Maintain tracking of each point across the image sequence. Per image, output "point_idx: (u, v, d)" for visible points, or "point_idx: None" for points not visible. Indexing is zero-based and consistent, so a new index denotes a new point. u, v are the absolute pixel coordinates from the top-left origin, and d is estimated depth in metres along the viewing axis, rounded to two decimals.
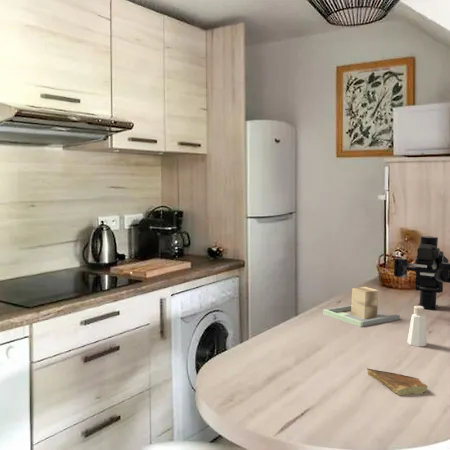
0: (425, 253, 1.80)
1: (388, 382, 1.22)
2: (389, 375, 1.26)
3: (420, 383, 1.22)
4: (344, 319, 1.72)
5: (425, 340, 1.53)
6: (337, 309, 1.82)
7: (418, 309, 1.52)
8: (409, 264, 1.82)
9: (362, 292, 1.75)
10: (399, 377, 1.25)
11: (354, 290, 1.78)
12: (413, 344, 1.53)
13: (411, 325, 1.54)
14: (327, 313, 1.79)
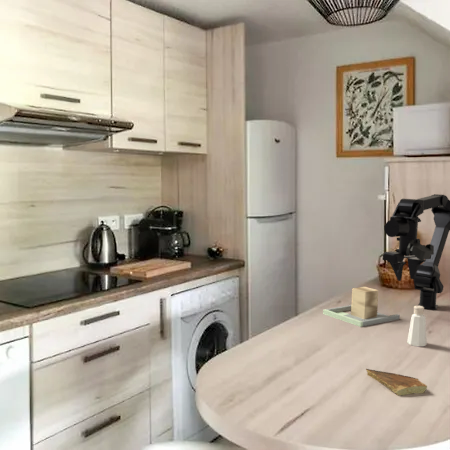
0: None
1: (388, 382, 1.22)
2: (388, 375, 1.26)
3: (419, 383, 1.22)
4: (344, 319, 1.72)
5: (425, 340, 1.53)
6: (337, 309, 1.82)
7: (418, 309, 1.52)
8: (404, 256, 1.82)
9: (362, 292, 1.75)
10: (399, 377, 1.25)
11: (354, 290, 1.78)
12: (413, 344, 1.53)
13: (411, 325, 1.54)
14: (327, 313, 1.79)
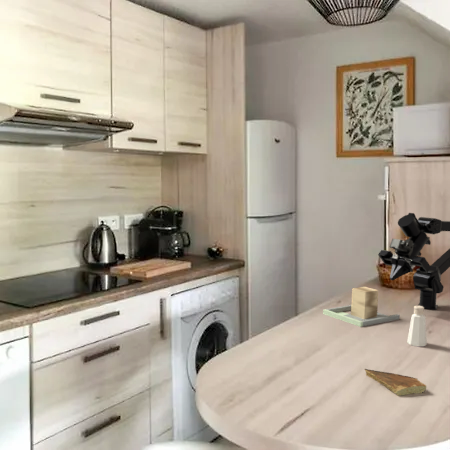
0: (398, 248, 1.84)
1: (387, 382, 1.22)
2: (387, 375, 1.26)
3: (419, 383, 1.22)
4: (344, 319, 1.72)
5: (425, 340, 1.53)
6: (337, 309, 1.82)
7: (418, 309, 1.52)
8: (401, 258, 1.86)
9: (362, 292, 1.75)
10: (398, 377, 1.25)
11: (354, 290, 1.78)
12: (413, 344, 1.53)
13: (411, 325, 1.54)
14: (327, 313, 1.79)
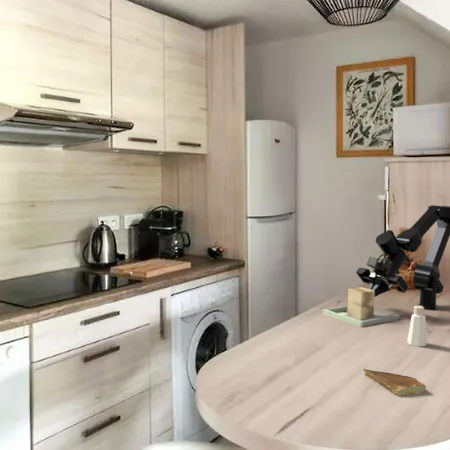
0: (375, 267, 1.79)
1: (387, 383, 1.22)
2: (386, 375, 1.26)
3: (418, 383, 1.22)
4: (344, 319, 1.72)
5: (425, 340, 1.53)
6: (337, 309, 1.82)
7: (418, 309, 1.52)
8: (379, 276, 1.81)
9: (358, 293, 1.74)
10: (397, 377, 1.25)
11: (350, 291, 1.77)
12: (413, 344, 1.53)
13: (411, 325, 1.54)
14: (327, 313, 1.79)
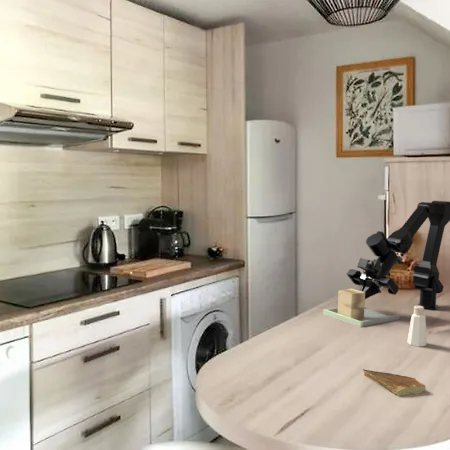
0: (365, 269, 1.77)
1: (386, 383, 1.22)
2: (386, 376, 1.26)
3: (418, 383, 1.22)
4: (344, 319, 1.72)
5: (425, 340, 1.53)
6: (337, 309, 1.82)
7: (418, 309, 1.52)
8: (369, 278, 1.79)
9: (348, 294, 1.72)
10: (396, 377, 1.25)
11: (340, 292, 1.75)
12: (413, 344, 1.53)
13: (411, 325, 1.54)
14: (327, 313, 1.79)
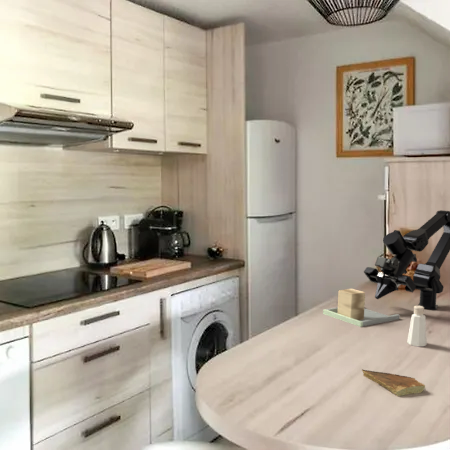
0: (383, 267, 1.81)
1: (386, 383, 1.22)
2: (385, 376, 1.26)
3: (417, 383, 1.22)
4: (344, 319, 1.72)
5: (425, 340, 1.53)
6: (337, 309, 1.82)
7: (418, 309, 1.52)
8: (386, 276, 1.83)
9: (348, 294, 1.72)
10: (396, 377, 1.25)
11: (340, 292, 1.75)
12: (413, 344, 1.53)
13: (411, 325, 1.54)
14: (327, 313, 1.79)
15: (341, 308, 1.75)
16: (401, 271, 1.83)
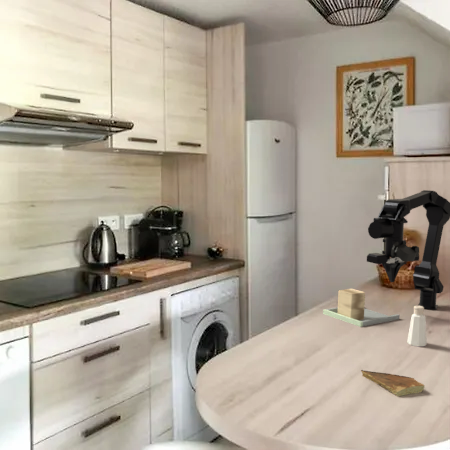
0: None
1: (386, 383, 1.22)
2: (385, 376, 1.26)
3: (417, 383, 1.22)
4: (344, 319, 1.72)
5: (425, 340, 1.53)
6: (337, 309, 1.82)
7: (418, 309, 1.52)
8: (395, 258, 1.81)
9: (348, 294, 1.72)
10: (395, 377, 1.25)
11: (340, 292, 1.75)
12: (413, 344, 1.53)
13: (411, 325, 1.54)
14: (327, 313, 1.79)
15: (341, 308, 1.75)
16: None
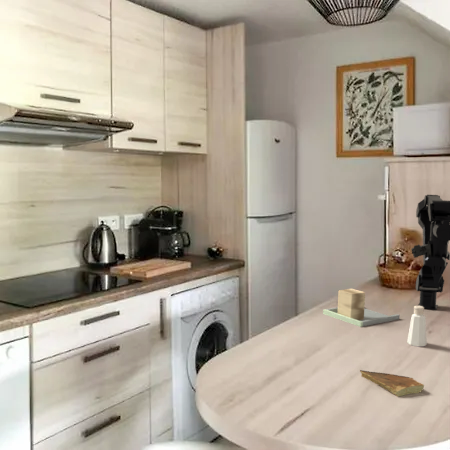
0: None
1: (385, 383, 1.22)
2: (384, 376, 1.26)
3: (416, 382, 1.22)
4: (344, 319, 1.72)
5: (425, 340, 1.53)
6: (337, 309, 1.82)
7: (418, 309, 1.52)
8: None
9: (348, 294, 1.72)
10: (394, 377, 1.25)
11: (340, 292, 1.75)
12: (413, 344, 1.53)
13: (411, 325, 1.54)
14: (327, 313, 1.79)
15: (341, 308, 1.75)
16: (437, 247, 1.77)
